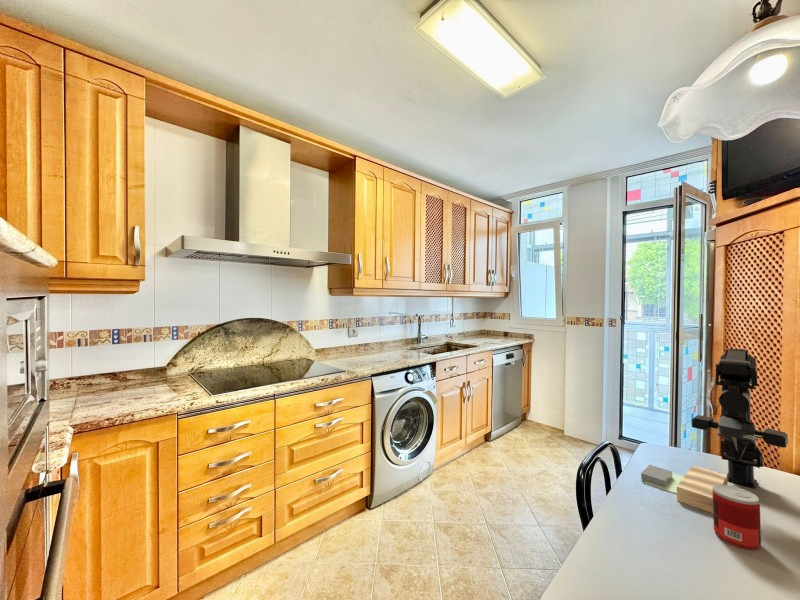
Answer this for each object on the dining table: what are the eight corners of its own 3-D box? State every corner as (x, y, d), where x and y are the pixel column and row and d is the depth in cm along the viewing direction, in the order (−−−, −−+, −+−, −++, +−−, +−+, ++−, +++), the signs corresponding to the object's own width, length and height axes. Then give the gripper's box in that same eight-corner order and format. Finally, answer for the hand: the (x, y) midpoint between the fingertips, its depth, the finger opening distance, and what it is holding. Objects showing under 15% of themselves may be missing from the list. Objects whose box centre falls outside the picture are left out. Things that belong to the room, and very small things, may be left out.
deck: (693, 477, 107) (692, 465, 107) (727, 488, 101) (727, 475, 101) (677, 500, 94) (676, 486, 95) (715, 513, 88) (714, 498, 88)
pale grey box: (672, 471, 107) (672, 477, 107) (649, 464, 111) (649, 470, 111) (664, 480, 101) (664, 487, 101) (641, 473, 106) (641, 479, 106)
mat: (657, 469, 113) (657, 468, 113) (691, 479, 106) (691, 478, 106) (644, 482, 104) (643, 482, 104) (680, 495, 97) (680, 494, 97)
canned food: (771, 553, 74) (769, 503, 74) (729, 548, 76) (728, 499, 76) (743, 530, 82) (741, 485, 82) (705, 526, 83) (704, 482, 84)
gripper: (685, 402, 97) (686, 456, 97) (781, 420, 82) (783, 483, 82) (696, 396, 103) (697, 446, 103) (787, 411, 88) (789, 469, 88)
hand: (737, 460), depth 94 cm, fingers closed
